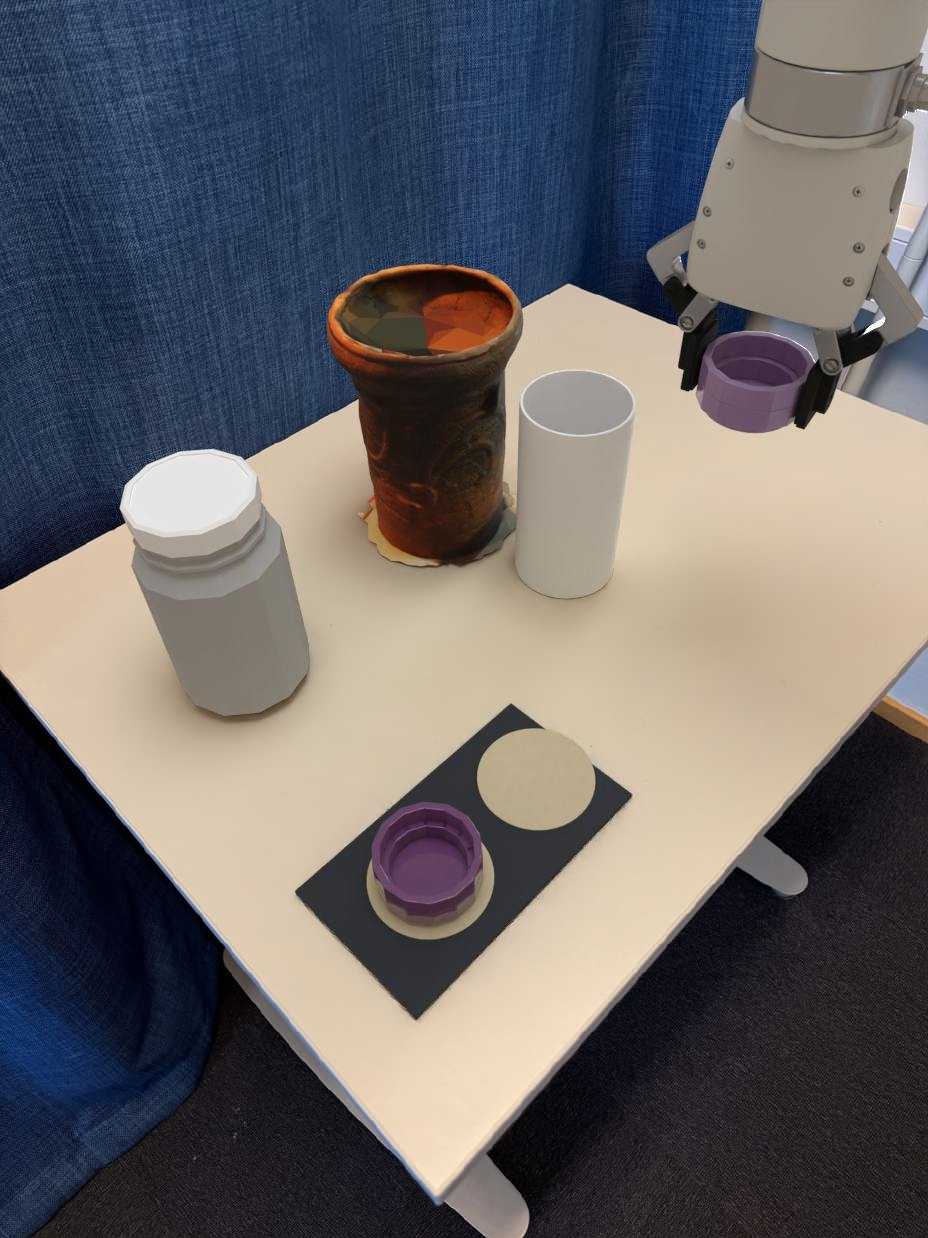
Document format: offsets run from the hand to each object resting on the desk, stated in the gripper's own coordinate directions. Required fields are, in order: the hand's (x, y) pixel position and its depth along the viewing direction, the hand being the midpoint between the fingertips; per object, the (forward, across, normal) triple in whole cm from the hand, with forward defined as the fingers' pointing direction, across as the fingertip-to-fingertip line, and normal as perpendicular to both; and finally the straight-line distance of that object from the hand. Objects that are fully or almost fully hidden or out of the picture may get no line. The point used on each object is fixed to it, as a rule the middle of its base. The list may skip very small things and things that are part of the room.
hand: (749, 396), depth 57 cm
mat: (+20, +4, +27) cm, 34 cm away
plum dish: (+19, +4, +31) cm, 36 cm away
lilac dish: (+1, 0, 0) cm, 1 cm away
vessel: (+20, +24, +2) cm, 31 cm away
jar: (+20, +26, +24) cm, 41 cm away
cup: (+20, +11, +1) cm, 23 cm away
